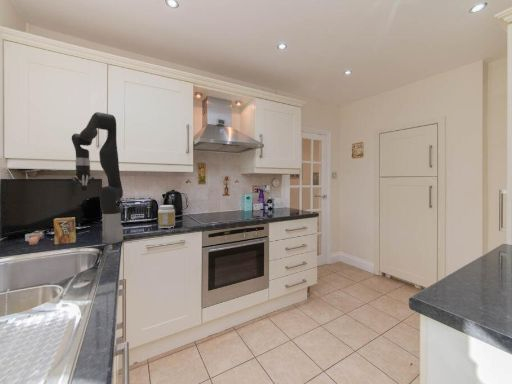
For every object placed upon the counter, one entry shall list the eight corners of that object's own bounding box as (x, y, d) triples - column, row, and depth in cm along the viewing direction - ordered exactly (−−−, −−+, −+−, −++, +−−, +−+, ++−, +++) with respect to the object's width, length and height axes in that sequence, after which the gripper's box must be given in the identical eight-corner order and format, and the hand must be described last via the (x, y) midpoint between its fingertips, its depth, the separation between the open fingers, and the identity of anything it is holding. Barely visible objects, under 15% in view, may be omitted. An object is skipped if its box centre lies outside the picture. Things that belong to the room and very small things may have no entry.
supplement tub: (159, 226, 182) (159, 205, 181) (175, 225, 185) (175, 204, 184) (157, 229, 170) (156, 206, 169) (174, 228, 174) (174, 206, 173)
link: (32, 237, 139) (31, 232, 139) (42, 236, 142) (42, 231, 142) (26, 245, 122) (26, 240, 122) (38, 243, 125) (38, 238, 125)
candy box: (76, 243, 132) (75, 217, 132) (75, 245, 129) (74, 218, 128) (56, 245, 128) (55, 218, 127) (54, 247, 124) (53, 219, 123)
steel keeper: (18, 241, 130) (17, 234, 130) (37, 237, 140) (37, 230, 140) (34, 242, 129) (34, 235, 129) (52, 237, 140) (52, 230, 140)
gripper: (89, 165, 158) (90, 190, 159) (67, 164, 145) (68, 191, 146) (96, 165, 155) (97, 191, 156) (75, 164, 143) (76, 192, 144)
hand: (83, 191), depth 151 cm, fingers closed
